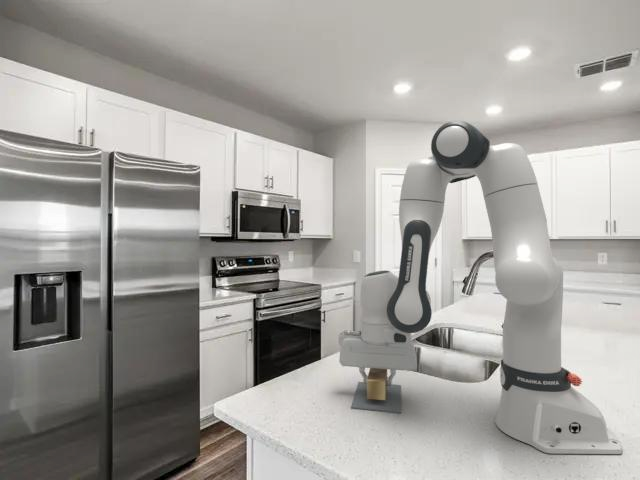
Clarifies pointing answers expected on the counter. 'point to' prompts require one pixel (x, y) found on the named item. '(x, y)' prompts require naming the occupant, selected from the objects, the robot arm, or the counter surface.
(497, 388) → the counter surface
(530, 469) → the counter surface
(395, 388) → the mat
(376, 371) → the block
